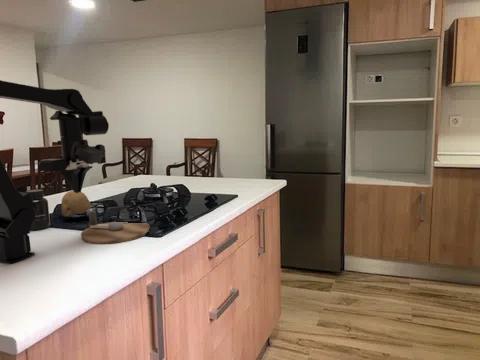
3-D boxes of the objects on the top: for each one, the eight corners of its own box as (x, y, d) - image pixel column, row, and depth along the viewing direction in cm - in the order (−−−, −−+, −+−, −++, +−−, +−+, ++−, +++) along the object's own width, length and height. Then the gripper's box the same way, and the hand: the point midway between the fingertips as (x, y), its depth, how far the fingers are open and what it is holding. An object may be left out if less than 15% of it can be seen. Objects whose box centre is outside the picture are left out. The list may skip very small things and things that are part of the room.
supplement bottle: (40, 231, 116) (35, 192, 114) (21, 230, 117) (16, 192, 115) (55, 225, 122) (51, 188, 120) (37, 224, 124) (32, 188, 122)
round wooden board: (121, 246, 98) (120, 241, 98) (66, 240, 105) (65, 235, 105) (162, 226, 116) (162, 222, 115) (112, 222, 123) (112, 218, 123)
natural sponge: (95, 215, 133) (93, 187, 132) (85, 222, 125) (82, 192, 123) (70, 216, 134) (67, 188, 132) (58, 223, 125) (54, 193, 123)
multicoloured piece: (125, 226, 112) (124, 210, 111) (118, 230, 108) (117, 214, 107) (94, 225, 114) (93, 210, 113) (86, 229, 110) (85, 213, 109)
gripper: (66, 138, 92) (73, 200, 94) (118, 134, 109) (122, 187, 111) (33, 138, 96) (41, 198, 99) (88, 134, 113) (93, 186, 116)
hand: (77, 192), depth 106 cm, fingers closed
